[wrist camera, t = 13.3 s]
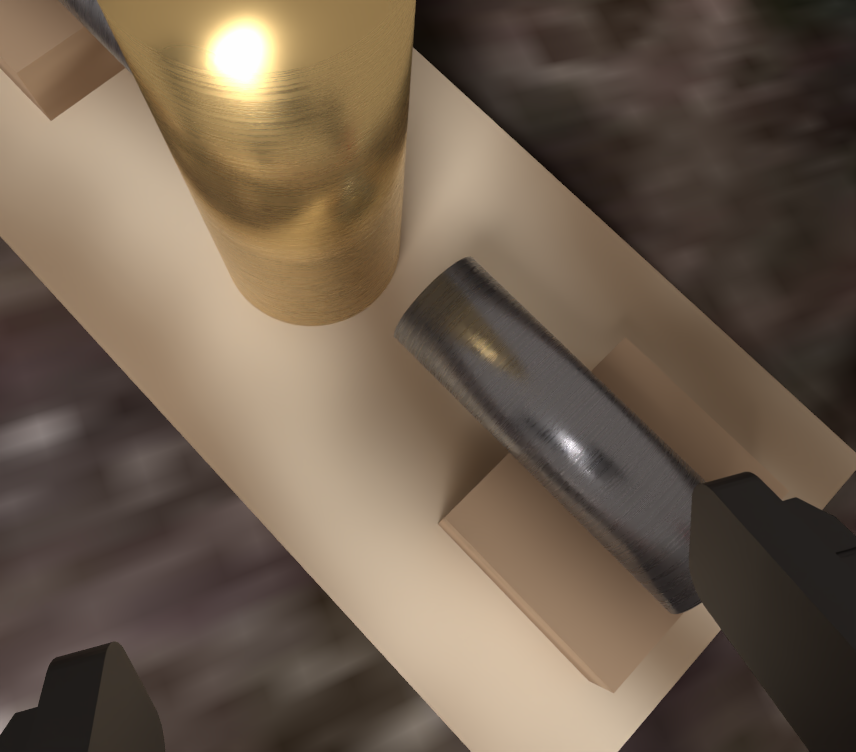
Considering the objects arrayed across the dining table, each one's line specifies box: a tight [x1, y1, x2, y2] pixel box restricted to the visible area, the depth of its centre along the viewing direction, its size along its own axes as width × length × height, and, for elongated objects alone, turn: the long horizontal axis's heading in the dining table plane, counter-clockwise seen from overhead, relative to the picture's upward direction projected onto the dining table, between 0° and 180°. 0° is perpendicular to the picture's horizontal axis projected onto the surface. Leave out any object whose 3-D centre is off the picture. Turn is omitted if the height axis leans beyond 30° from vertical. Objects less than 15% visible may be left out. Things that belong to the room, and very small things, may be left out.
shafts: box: [58, 0, 706, 614], centre depth 17 cm, size 2×24×2 cm, turn 45°
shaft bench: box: [0, 0, 856, 752], centre depth 19 cm, size 12×28×3 cm, turn 44°
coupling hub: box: [97, 0, 416, 326], centre depth 15 cm, size 5×5×10 cm
